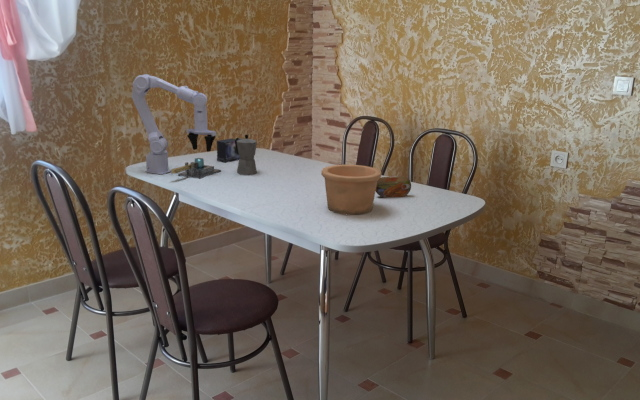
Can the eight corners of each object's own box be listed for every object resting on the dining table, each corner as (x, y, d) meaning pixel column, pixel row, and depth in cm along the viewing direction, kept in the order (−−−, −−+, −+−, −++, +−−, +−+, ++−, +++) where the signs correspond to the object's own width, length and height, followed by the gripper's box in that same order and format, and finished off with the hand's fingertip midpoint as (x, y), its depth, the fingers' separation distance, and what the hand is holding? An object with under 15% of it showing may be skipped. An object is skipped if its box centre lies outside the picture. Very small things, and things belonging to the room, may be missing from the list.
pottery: (343, 197, 218) (345, 161, 214) (390, 208, 204) (393, 170, 200) (308, 208, 202) (309, 170, 198) (356, 221, 188) (358, 181, 184)
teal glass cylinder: (193, 172, 249) (192, 159, 247) (197, 170, 252) (197, 157, 251) (201, 173, 248) (200, 160, 246) (205, 171, 251) (205, 158, 249)
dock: (178, 175, 246) (177, 161, 244) (199, 168, 260) (199, 155, 258) (200, 178, 241) (199, 164, 239) (220, 171, 255) (220, 158, 253)
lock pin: (170, 173, 233) (170, 168, 233) (192, 167, 247) (192, 161, 246) (175, 174, 232) (175, 169, 232) (197, 167, 246) (197, 162, 245)
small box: (225, 162, 274) (224, 142, 271) (216, 161, 277) (215, 140, 275) (240, 159, 282) (240, 139, 279) (231, 158, 286) (231, 138, 283)
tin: (376, 198, 217) (377, 177, 215) (373, 196, 220) (374, 176, 218) (410, 196, 221) (412, 176, 219) (407, 194, 224) (409, 174, 222)
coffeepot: (263, 174, 252) (263, 135, 247) (247, 177, 246) (246, 137, 241) (244, 168, 263) (243, 131, 258) (227, 170, 256) (226, 133, 252)
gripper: (182, 120, 245) (183, 150, 249) (208, 122, 239) (209, 153, 243) (191, 118, 251) (193, 147, 255) (218, 121, 245) (219, 150, 249)
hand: (201, 150), depth 249 cm, fingers open, 7 cm apart
